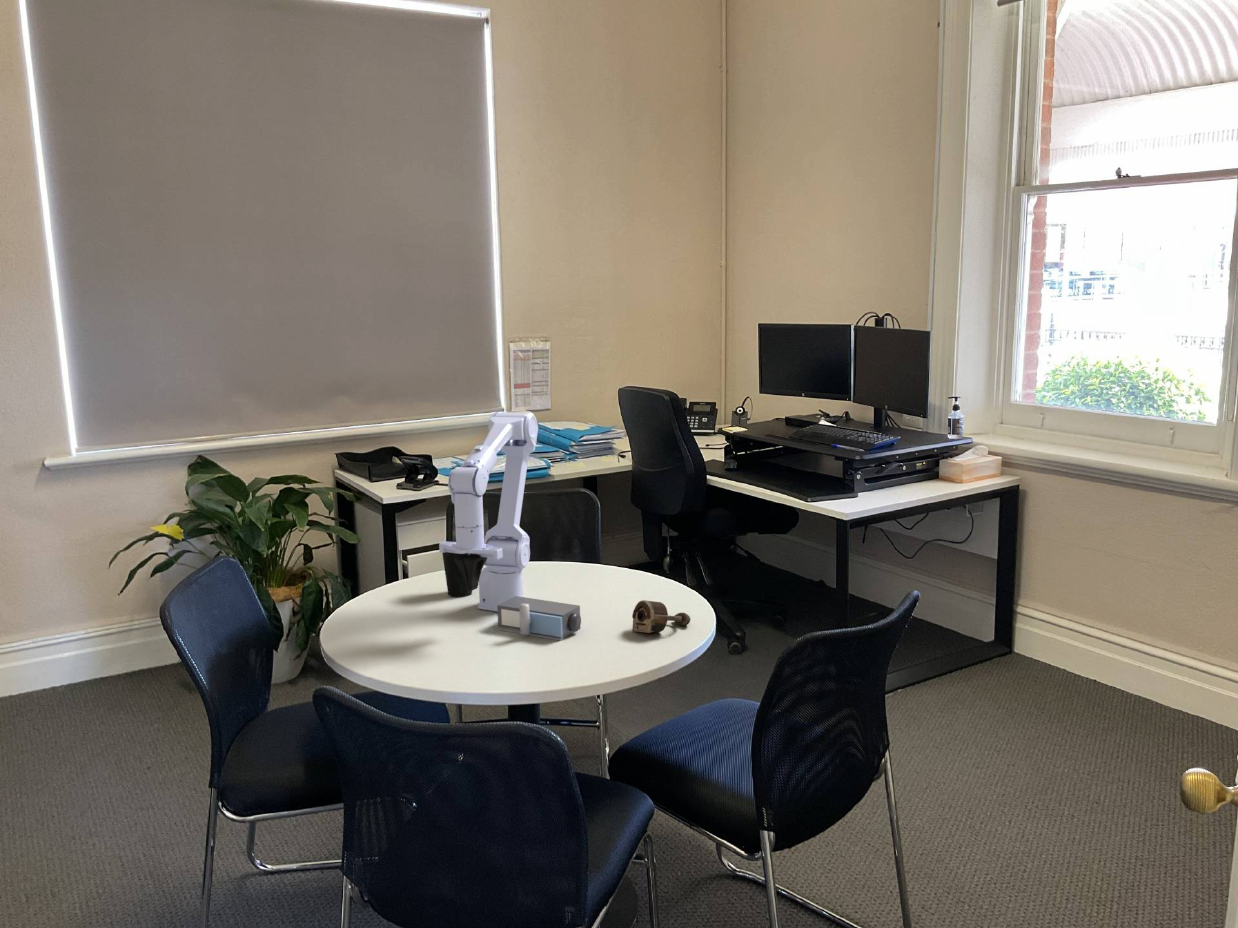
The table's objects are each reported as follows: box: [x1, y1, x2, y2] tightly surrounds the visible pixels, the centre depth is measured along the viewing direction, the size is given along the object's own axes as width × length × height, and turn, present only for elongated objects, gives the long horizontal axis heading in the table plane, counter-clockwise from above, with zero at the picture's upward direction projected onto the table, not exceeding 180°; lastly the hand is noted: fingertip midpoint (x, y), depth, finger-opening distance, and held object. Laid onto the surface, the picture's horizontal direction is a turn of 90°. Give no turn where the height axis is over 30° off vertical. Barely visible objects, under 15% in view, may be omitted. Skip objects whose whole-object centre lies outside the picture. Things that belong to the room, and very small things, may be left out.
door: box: [519, 603, 563, 637], centre depth 201 cm, size 9×3×6 cm, turn 63°
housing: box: [494, 596, 582, 641], centre depth 207 cm, size 17×8×5 cm, turn 63°
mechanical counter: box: [631, 599, 691, 634], centre depth 205 cm, size 7×13×10 cm
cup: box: [441, 540, 473, 598], centre depth 232 cm, size 8×8×12 cm
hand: (472, 588), depth 205 cm, fingers closed
